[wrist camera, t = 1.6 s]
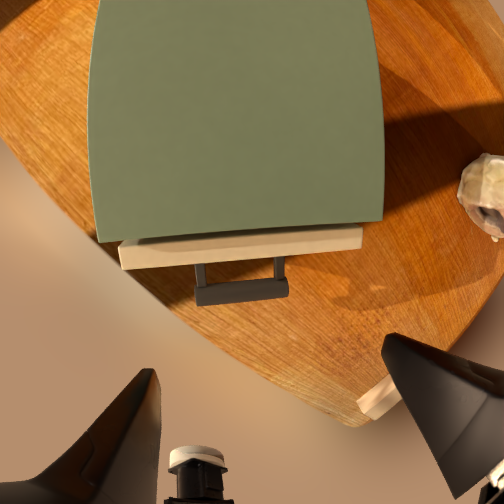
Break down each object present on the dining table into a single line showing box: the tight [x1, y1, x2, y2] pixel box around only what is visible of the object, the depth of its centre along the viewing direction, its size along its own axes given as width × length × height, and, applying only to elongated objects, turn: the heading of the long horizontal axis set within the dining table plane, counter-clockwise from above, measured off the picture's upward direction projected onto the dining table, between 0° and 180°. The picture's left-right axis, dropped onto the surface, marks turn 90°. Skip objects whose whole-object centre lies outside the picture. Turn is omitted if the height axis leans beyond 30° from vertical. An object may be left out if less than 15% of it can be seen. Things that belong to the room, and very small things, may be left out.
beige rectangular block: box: [356, 374, 402, 420], centre depth 29 cm, size 7×4×2 cm, turn 134°
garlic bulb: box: [457, 153, 504, 242], centre depth 19 cm, size 9×8×10 cm
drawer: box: [118, 223, 363, 306], centre depth 15 cm, size 18×12×7 cm
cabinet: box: [87, 0, 385, 243], centre depth 13 cm, size 15×14×9 cm
